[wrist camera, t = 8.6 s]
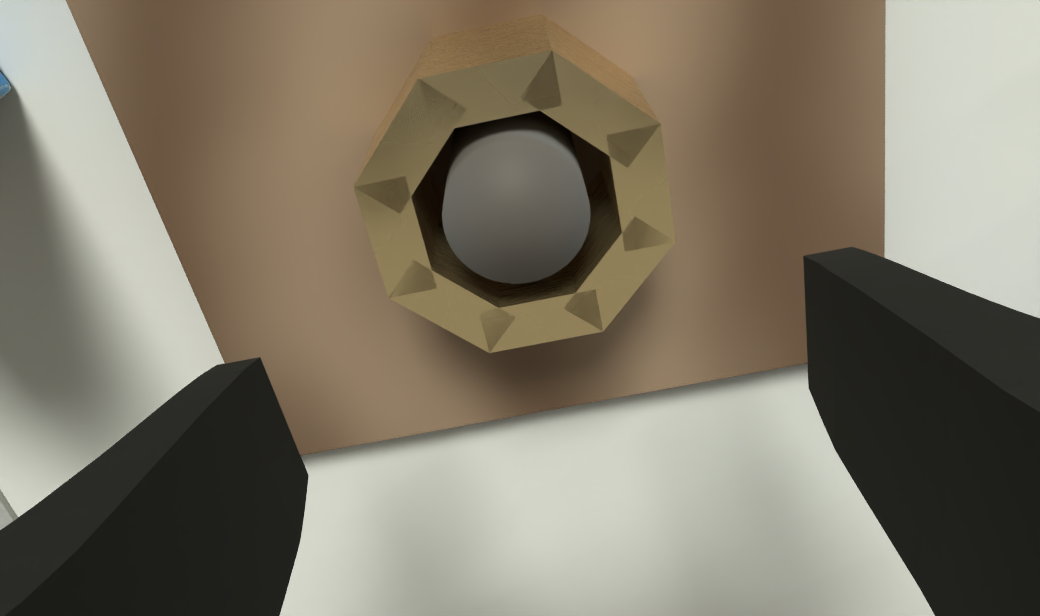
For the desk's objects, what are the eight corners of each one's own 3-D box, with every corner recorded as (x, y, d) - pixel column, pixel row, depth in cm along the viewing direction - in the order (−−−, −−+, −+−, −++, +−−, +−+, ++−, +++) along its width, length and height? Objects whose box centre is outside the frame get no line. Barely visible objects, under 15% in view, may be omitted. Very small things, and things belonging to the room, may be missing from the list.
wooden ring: (620, -4, 17) (648, 28, 14) (654, 242, 20) (685, 315, 16) (355, 53, 17) (325, 98, 14) (423, 287, 20) (409, 368, 17)
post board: (864, -325, 15) (1012, -394, 11) (868, 329, 22) (961, 449, 18) (36, -128, 17) (-129, -119, 12) (276, 437, 23) (225, 576, 19)
